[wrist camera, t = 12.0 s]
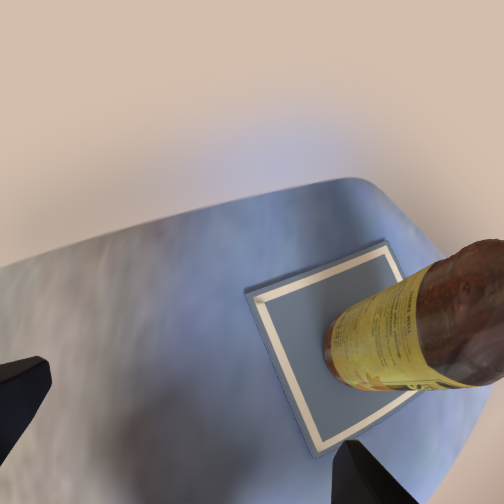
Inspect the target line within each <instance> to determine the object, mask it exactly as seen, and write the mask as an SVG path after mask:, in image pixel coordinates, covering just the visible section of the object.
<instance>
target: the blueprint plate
mask: <svg viewBox="0 0 504 504" xmlns="http://www.w3.org/2000/svg"><path fill="white" fill-rule="evenodd" d="M404 279H406V278H405V275H404V273H403V271H402V269H401V267H400V265H399V262H398V260H397V258H396V256H395V254H394V252H393V250H392V248H391V246H390V244H389V242H388V240H386V241H383V242H381V243H378V244H376V245H373V246H371V247H368V248H366V249H363V250H361V251H358V252H356V253H353V254H351V255H348V256H346V257H343V258H340V259H338V260H335V261H333V262H330V263H328V264H325V265H322V266H320V267H317V268H314V269H312V270H309V271H307V272H304V273H301V274H299V275H296V276H293V277H291V278H288V279H285V280H283V281H280V282H277V283H274V284H272V285H269V286H266V287H263V288H261V289H258V290H255V291H252V292H250V293H247V294H245V298H246V300H247V303H248V305H249V308H250V310H251V313H252V315H253V318H254V320H255V322H256V325H257V327H258V330H259V332H260V335H261V337H262V340H263V342H264V344H265V347H266V349H267V352H268V354H269V357H270V359H271V361H272V364H273V366H274V369H275V371H276V373H277V376H278V378H279V381H280V383H281V385H282V388H283V390H284V392H285V395H286V397H287V400H288V402H289V404H290V407H291V409H292V411H293V414H294V416H295V418H296V421H297V423H298V425H299V428H300V430H301V432H302V434H303V437H304V439H305V441H306V444H307V446H308V448H309V451H310V453H311V455H312V457H313V459H317V458H319V457H321V456H323V455H325V454H327V453H329V452H331V451H333V450H334V449H336V448H338V447H340V446H341V445H342V443H343V441H345V440H352V439H354V438H356V437H357V436H359V435H361V434H362V433H364V432H366V431H367V430H369V429H371V428H372V427H374V426H375V425H377V424H379V423H380V422H382V421H383V420H385V419H386V418H388V417H389V416H391V415H392V414H394V413H395V412H397V411H398V410H399V409H401V408H402V407H404V406H405V405H407V404H408V403H409V402H411V401H412V400H413V399H415V398H416V397H417V396H419V395H420V394H421V393H423V392H424V391H419V390H416V391H365V390H359V389H356V388H352V387H348V386H346V385H345V384H344V383H341V382H340V381H338V380H337V379H336V378H335V377H334V376H333V375H332V374H331V372H330V371H329V369H328V367H327V363H326V361H325V357H324V340H325V336H326V333H327V332H328V330H329V328H330V326H331V323H332V322H333V321H334V320H335V318H336V317H337V316H339V315H340V314H341V313H342V312H343V311H345V310H347V309H348V308H350V307H351V306H353V305H355V304H357V303H359V302H361V301H363V300H365V299H367V298H369V297H371V296H373V295H375V294H377V293H379V292H381V291H383V290H385V289H387V288H389V287H390V286H392V285H394V284H396V283H398V282H400V281H402V280H404Z"/></svg>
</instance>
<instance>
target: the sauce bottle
mask: <svg viewBox="0 0 504 504" xmlns="http://www.w3.org/2000/svg"><path fill="white" fill-rule="evenodd" d="M324 357H325V361H326V363H327V367H328V369H329V371H330V372H331V374H332V375H333V376H334V377H335V378H336V379H337V380H338V381H340V382H341V383H344V384H345V385H346V386H348V387H352V388H356V389H359V390H365V391H416V390H419V391H426V390H444V389H459V388H471V387H478V386H485V385H489V384H492V383H494V382H496V381H498V380H499V379H501V378H503V377H504V240H498V239H486V240H482V241H477V242H475V243H473V244H470V245H469V246H467V247H464V248H462V249H461V250H460V251H459V252H458V253H456V254H455V255H452V256H451V257H449V258H447V259H445V260H440V261H437V262H435V263H433V264H431V265H429V266H428V267H426V268H424V269H422V270H420V271H419V272H417V273H415V274H413V275H411V276H409V277H408V278H406V279H404V280H402V281H400V282H398V283H396V284H394V285H392V286H390V287H389V288H387V289H385V290H383V291H381V292H379V293H377V294H375V295H373V296H371V297H369V298H367V299H365V300H363V301H361V302H359V303H357V304H355V305H353V306H351V307H350V308H348V309H347V310H345V311H343V312H342V313H341V314H340V315H339V316H337V317H336V318H335V320H334V321H333V322H332V323H331V326H330V328H329V330H328V332H327V333H326V336H325V340H324Z"/></svg>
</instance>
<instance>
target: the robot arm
mask: <svg viewBox="0 0 504 504" xmlns="http://www.w3.org/2000/svg"><path fill="white" fill-rule="evenodd" d="M51 385H52V377H51V372H50V365H49V362H48V361H47V360H46V359H44V358H42V357H40V356H34V357H30V358H26V359H22V360H18V361H13V362H9V363H5V364H1V365H0V466H1V465H2V463H3V462H4V460H5V459H6V457H7V456H8V454H9V453H10V451H11V450H12V448H13V447H14V445H15V444H16V442H17V441H18V440H19V438H20V437H21V435H22V434H23V432H24V431H25V430H26V428H27V427H28V425H29V424H30V422H31V421H32V419H33V418H34V416H35V414H36V412H37V410H38V409H39V407H40V405H41V403H42V402H43V400H44V398H45V396H46V395H47V393H48V391H49V389H50V388H51ZM331 504H419V503H418V502H417V501H416V500H415V499H414V498H413V497H412V496H411V495H410V494H409V493H408V492H407V491H406V490H405V489H404V488H403V487H402V486H401V485H400V484H399V483H398V481H397V480H396V479H395V478H394V477H393V476H392V475H391V474H390V473H389V472H388V471H387V470H386V469H385V468H384V467H383V466H382V465H381V464H380V463H379V461H378V460H377V459H376V458H375V457H374V456H373V455H372V454H371V453H370V452H369V451H368V450H367V449H366V448H365V446H364V445H363V444H362V443H361V442H360V441H358V440H345V441H343V443H342V445H341V446H340V448H339V450H338V451H337V453H336V455H335V456H334V459H333V468H332V494H331Z"/></svg>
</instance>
